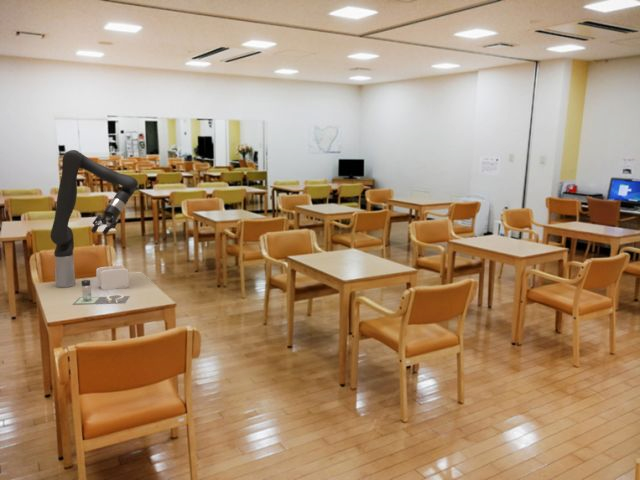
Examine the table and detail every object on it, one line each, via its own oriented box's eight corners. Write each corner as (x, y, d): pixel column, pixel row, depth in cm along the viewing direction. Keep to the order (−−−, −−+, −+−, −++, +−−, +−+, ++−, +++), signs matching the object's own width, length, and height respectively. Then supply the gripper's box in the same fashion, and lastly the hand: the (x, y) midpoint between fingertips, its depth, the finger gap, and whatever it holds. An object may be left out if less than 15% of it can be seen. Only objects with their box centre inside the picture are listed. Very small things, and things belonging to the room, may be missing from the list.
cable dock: (71, 307, 263) (71, 302, 262) (79, 299, 275) (79, 294, 275) (124, 305, 266) (124, 300, 266) (130, 297, 278) (130, 293, 278)
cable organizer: (100, 292, 287) (98, 271, 285) (97, 287, 296) (95, 267, 293) (129, 288, 294) (128, 268, 292) (125, 284, 303) (124, 264, 301)
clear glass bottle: (82, 301, 268) (80, 282, 265) (84, 299, 271) (82, 280, 269) (90, 301, 268) (88, 282, 266) (92, 298, 272) (91, 279, 270)
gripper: (101, 203, 289) (84, 227, 281) (119, 205, 283) (103, 230, 275) (109, 211, 295) (93, 235, 287) (128, 214, 288) (112, 238, 281)
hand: (98, 232), depth 281 cm, fingers open, 8 cm apart
